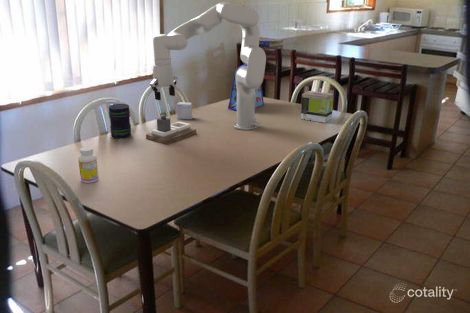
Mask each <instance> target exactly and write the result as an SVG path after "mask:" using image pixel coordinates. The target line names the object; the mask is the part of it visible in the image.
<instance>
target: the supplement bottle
mask: <svg viewBox="0 0 470 313" xmlns="http://www.w3.org/2000/svg"><path fill="white" fill-rule="evenodd" d="M79 153H80V154H79V156H78V157H77V158H78V159H77V161H78V168H79V175H80V176H79V177H80V180H81V182H82V183H85V184H88V183H89V184H91V183H95V182H97V181H99V180H100V176H99V168H98V158H97V154H95V153H94V148H93V147H91V146H84V147H80V148H79Z"/></svg>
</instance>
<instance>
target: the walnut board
mask: <svg viewBox="0 0 470 313" xmlns="http://www.w3.org/2000/svg"><path fill="white" fill-rule="evenodd" d="M196 134H197V129H196V128H192V127H190V129H189V130H186V131H183V132H180V133H177V134H175V135H172V136H169V137H166V138H160V137H156V136H153V135H152V132H149V133H147V134H145V139H146V140H147V139H148V140H150V141H155V142H158V143H161V144H165V145H168V144H172V143H174V142H177V141H179V140H182V139H185V138H188V137H191V136H192V135H196Z"/></svg>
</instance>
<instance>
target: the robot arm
mask: <svg viewBox="0 0 470 313" xmlns="http://www.w3.org/2000/svg"><path fill="white" fill-rule="evenodd" d="M259 21H260V15H259V12H258V11H257V10H255V9H254V8H251V7H246V6H243V5H238V4H235V3H232V2H228V1H227V2H225V1H223V2H222V1H221V2H218V3H216V4H215V5H213V6H212V7H210V8H209V9H207V10H205V11H204V12H203V13H201V14H199V15H198V16H196V17H194V18H192V19H190V20H188V21H186V22H184V23H182V24H181V25H179V26H177V27H175V29H172V30H171V31H170V32H169V33H168V34H164V33H158V34H154V35H153V37H152V45H153V57H154V58H153V59H154V65H153V68H152V81H151V82H150V84H149V85H150V87H151V90H152V91H153V92H154V100H155V101H161V100H162V99H161V96H162V95H161V91H160V90H161V88H164V87H168V86H169V87H168V93H169V94H168V95H169V96H171V97H175V96H176V85H177V81H178V77H177V76H175V75H174V74H175V73H174V68H173V64H172V56H171V51H184V50H185V49H186V48H187V46H188V40H189V39H191V38H194V37H195V36H201V35H205V34H208V33H209V32H211V31H212V30H214V29H215V28H216V27H218V26H220V25H222V24H223V23H224V22H227V23H229V24H234V25H237V26H239V27H240V29H241V36H242V39H241V45H240V46H241V48H240V56H239V58H240V60H241V61H242V63H243V64H245V63H246V64H247V66H243V67H240V66H239V67H240V68H239V69H238V70H237V72H236V76H235V79H236V87H237V110H236V122H234V123H233V127H234V128H235V129H236V130H243V131H249V130H254V129H255V130H256V129H257V128H259V127H260V126H261V122H259V121H257V118H255V117H256V114H255V113H256V108H255V89H256V88H258V87H260V85H261V86H262V84H263V82H264V77H265V71H266V70H265V69H266V65H267V64H266V63H267V62H266V61H267V56H266V53H265V50H264V49H263V48H262V47H259V46H260V35H261V34H260V27H259Z"/></svg>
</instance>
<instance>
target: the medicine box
mask: <svg viewBox="0 0 470 313" xmlns="http://www.w3.org/2000/svg"><path fill="white" fill-rule="evenodd" d="M176 115H177V116H176V118H177V120H192V119H193V103H192V102H181V101H179V102H178V103H176Z"/></svg>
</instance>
